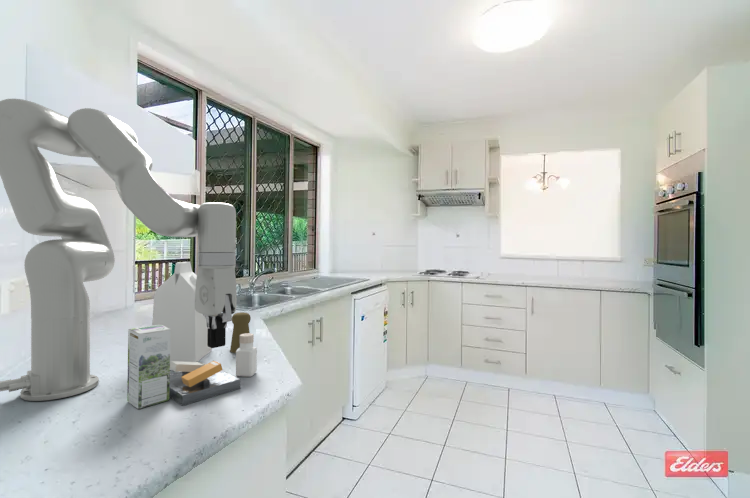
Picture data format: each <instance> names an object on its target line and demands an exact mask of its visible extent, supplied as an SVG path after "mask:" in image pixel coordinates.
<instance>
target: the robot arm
mask: <svg viewBox="0 0 750 498" xmlns="http://www.w3.org/2000/svg"><path fill="white" fill-rule="evenodd" d="M138 143H139V141H138V137H137V135H136V133H135V131H134V130H133V129H132V128H131V127H130V126H129V125H128V124H127V123H124V122H122V121H121V120H119V119H117V118H115V117H113V116H112V115H109V114H108V113H106V112H104V111H102V110H99V109H95V108H91V107H90V108H88V107H87V108H86V107H85V108H80V109H77V110H75V111H73V112H72V113H71V114H70V115H69V116H67V115H63V114H61V113H59V112H57V111H55V110H52V109H50V108H48V107H46V106H43V105H41V104H39V103H36V102H33V101H31V100H27V99H21V98H6V99H1V100H0V178H1V180H2V183H3V188H4V190H5V192H6V195H7V198H8V200H9V203H10V206H11V208H12V210H13V213H14V215H15V218H16V220H17V222H18V224H19V226H20V227H21V229H22V230H23V231H25V232H26V233H28V234H31V235H33V236H34V235H35V236H40V237H58V238H59V237H60V239H57V238H56V239H50V240H45V241H42V242H41V241H40V242H39V243H37V244H35V245H34V246H33V247H31V249H29V251H28V252H27V254H25V255H26V256H25V259H24V272H25V276H26V279H27V283H28V288H29V295H30V319H31V320H30V321H31V322H30V323H31V328H30V331H31V332H30V335H31V336H30V338H31V340H30V343H31V344H30V345H31V346H30V349H31V350H30V351H31V352H30V354H31V355H30V365H31V366H30V370H27V371H26V375H20V378H14V379H11V378H10V379H5V380H0V392H5V391H8V392H9V393H10V392H16V391H19V390H20V393H19V395H20V398H21V399H22V400H24V401H28V402H29V401H30V402H42V401H43V402H44V401H45V402H46V401H53V400H59V399H64V398H68V397H73V396H76V395H79V394H82V393H86V392H87V391H90V390H92V389H94V388H95V387H97V386H98V385H99V377H98V376H97V375H95V374H91V305H90V302H91V301H90V297H89V295H88V294H89V293H88V291H87V290H86V287H85V285H84V283H87V282H94V281H98V280H102V279H104V278H105V277H107V276H109V274H110V273H112V271H113V270H114V267H115V263H116V262H115V259H116V258H115V253H114V250H113V249H114V248H112V245H111V241H110V239H109V237H108V234H107V231H106V228H105V225H104V223H103V220H102V217H101V216H100V213H99V212H98V210H97V208H96V207H95V206H94V205H93V204H92V203H91V202H89V201H88V200H86V199H84V198H83V197H80V196H75V195H70V194H67V193H65V192H64V191H63V190H62V187H61V185H60V184H59V182H58V181H59V180H58V179H57V175H56V173H55V171H54V169H53V167H52V165H51V164H50V163H49V161H48V160H47V159H46V157H44V155H43V154H42V153H41V151H40V150H39V148H40V149H43V150H47V151H50V152H53V153H56V154H59V155H63V156H68V157H77V158H90V159H92V160H93V162H95V163H96V165H98V166H99V167H100V168H101V169H102V170H103V171H104V172H105V174H107V175H108V177H110V179H111V180H112V181H113V182H114V183H115V189H116V191H117V194H118V195H119V197H120V199H121V201H122V202H123V204H124V205H125V207H126V208H127V209H128V210H129V211H130V212H131V213H132V214H133V215H134V216H135V217H136V218H137V219H138V220H139V221H140V222H141V223H142V224H143V226H145V227H147V229H149V230H150V231H152V232H153V233H155V234H157V235H160V236H165V237H177V238H195V237H197V273H196V275H197V279H196V290H195V310H196V311H197V312H198V313H201V314H203V316H204V317H206V324H207V328H208V336H207V346H208V347H210V348H212V349H215V348H220V347H225V346H226V332H227V331H226V328H227V327H228V322H232V316H233V315H234V314H235V313H236V311H237V303H238V302H237V300H238V299H237V296H238V294H237V291H238V290H237V280H236V271H235V268H236V266H237V265H236V264H237V263H236V260H237V259H236V256H237V254H236V251H237V249H236V248H237V247H236V246H237V245H236V243H237V212H236V211H237V210H236V208H235V205H233V204H230V203H226V202H204V203H201V204H194V203H189V202H186V201H182V200H178V199H175V198H174V197H172V196H171V195H170V194H169V193H168V192H167V191H166V190H165V189H164V188H163V187H162V186H161V185H160V184H159V183H158V182H157V180H156V179H155V178H154V177H153V175H152V174H151V171H152V169H153V161H152V158H151V157H150V156H149V155H148V154H147V153H146V152H145V151H144V150H143V149H142V148H141V147H140V146H139V144H138Z"/></svg>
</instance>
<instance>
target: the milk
mask: <svg viewBox="0 0 750 498" xmlns="http://www.w3.org/2000/svg"><path fill="white" fill-rule="evenodd" d="M191 263H192V262H191V261H182V262H181V261H180V262H175V266H174V271H173V272H174V273H173V274H172V275H171V276H170V277H168V278H166V280H165V281H164V282H163V283H162V284H161V285H160V286H158V287H157V288H156V290H155V291H154V296H153V305H152V306H153V307H152V308H153V309H152V324H151V326H154V325H163V326H165V327H167V328H169V329H170V330H171V342H170V362H171V361H181V362H200V360H201V359H203V358H204V357H206V356H207V355H208V354H210V353H211V352H212V351H213V348H210V347H208V346H207V336H208V328H207V324H206V317H204V316H203V314H201V313H198V312H197V311H196V310H195V290H196V279H197V273H195V272H193V268H192V265H191Z"/></svg>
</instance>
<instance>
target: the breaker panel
mask: <svg viewBox="0 0 750 498" xmlns="http://www.w3.org/2000/svg"><path fill="white" fill-rule="evenodd" d="M188 373H190V372H176V373H170V392H169V399H172V400H173V401H174V402H176V403H178V404H179V405H180V406H182V407H184V406H187V405H190V404H193V403H197V402H201V401H203V400H206V399H210V398H213V397H216V396H220V395H224V394H226V393H230V392H232V391H236V390H239V389H241V388H242V386H241V378H239V377H238V376H236V375H232V374H231V373H228V372H226V371H224V370H222V371H220V372H218V373H216V374H214V375H212V376H210V377H208V378H207V379H205V380H203V381H201V382H199V383H197V384H195V385H193V386H192V387H189V386H187V385H185V384H183V381H182V378H181V377H182V376H184V375H186V374H188Z"/></svg>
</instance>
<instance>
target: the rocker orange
mask: <svg viewBox="0 0 750 498" xmlns="http://www.w3.org/2000/svg"><path fill="white" fill-rule="evenodd" d="M205 364H206V365H204V366H202V367H200V368H198V369H196V370H194V371H192V372H190V373H188V374H186V375H184V376H182V377H181V378H182V381H183V384H185V385H187V386H189V387H192V386H193V385H195V384H197V383H199V382H201V381H203V380H205V379H207V378H208V377H210V376H212V375H214V374H216V373H218V372H220V371H223V367H222V364H221V362H219V361H215V360H212V361H210V362H208V363H205Z"/></svg>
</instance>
